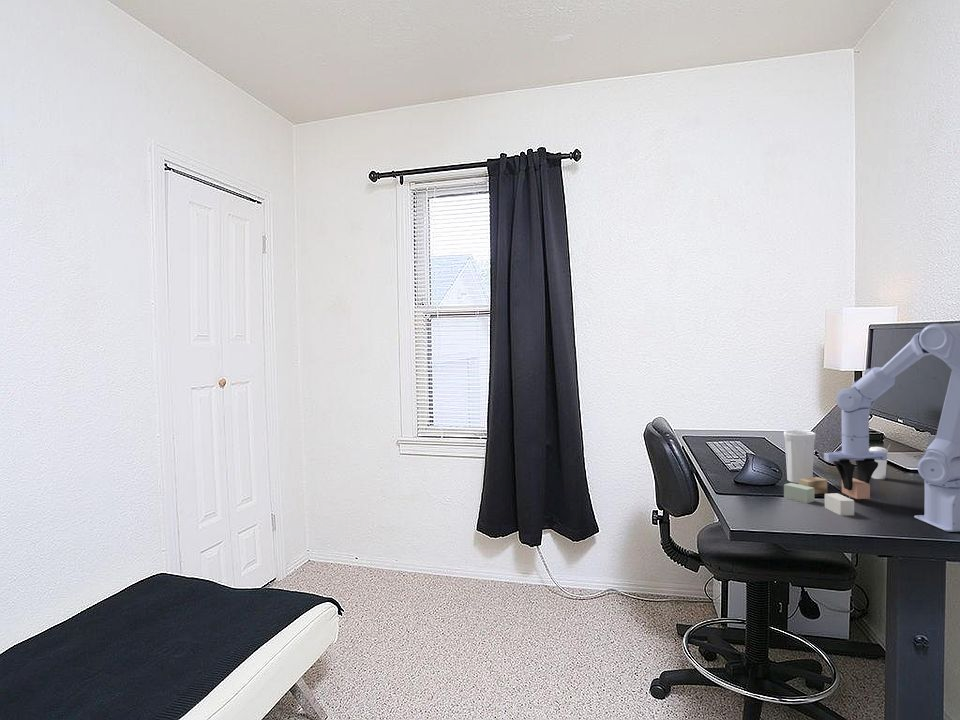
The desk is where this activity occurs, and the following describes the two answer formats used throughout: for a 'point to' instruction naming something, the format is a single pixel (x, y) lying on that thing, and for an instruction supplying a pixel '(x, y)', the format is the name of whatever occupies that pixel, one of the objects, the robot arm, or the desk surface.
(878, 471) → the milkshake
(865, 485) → the terracotta brick
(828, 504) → the cream brick
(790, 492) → the sage brick
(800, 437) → the cup
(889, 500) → the desk surface
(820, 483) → the oak brick
